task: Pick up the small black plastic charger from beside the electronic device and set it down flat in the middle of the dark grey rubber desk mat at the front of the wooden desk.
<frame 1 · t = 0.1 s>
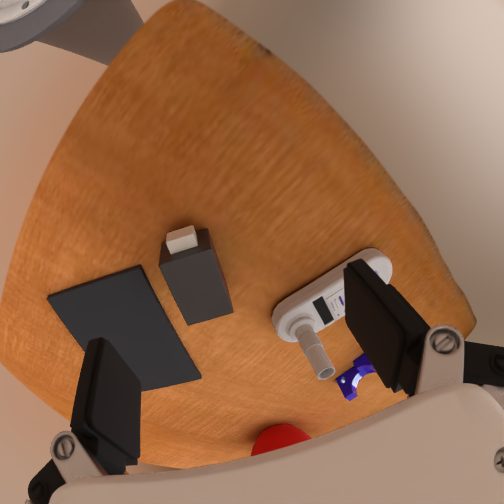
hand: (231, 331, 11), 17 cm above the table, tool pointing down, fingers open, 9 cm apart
cable holder: (356, 364, 43), on the table
electronic device: (328, 287, 34), on the table
charger: (196, 266, 28), on the table
desk mat: (128, 341, 31), on the table
ceramic cup: (285, 430, 50), on the table
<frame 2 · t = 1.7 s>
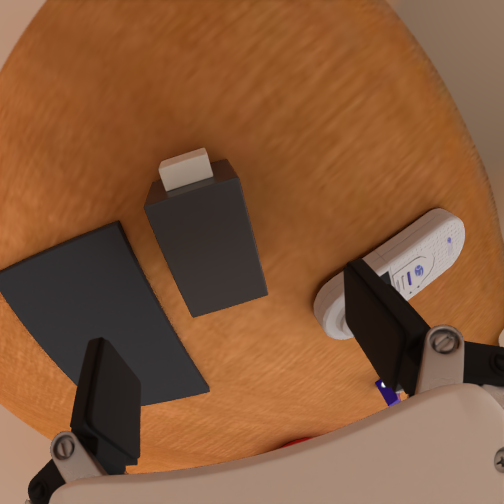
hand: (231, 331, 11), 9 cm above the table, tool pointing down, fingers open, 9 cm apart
cable holder: (399, 364, 33), on the table
electronic device: (386, 262, 23), on the table
charger: (205, 223, 18), on the table
desk mat: (105, 342, 21), on the table
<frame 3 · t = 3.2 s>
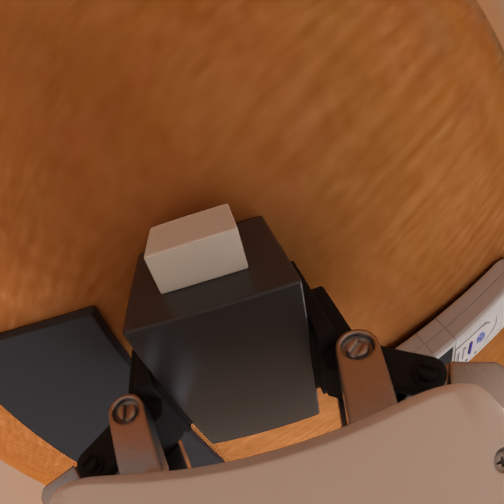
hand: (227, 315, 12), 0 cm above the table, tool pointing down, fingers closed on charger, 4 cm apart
electronic device: (442, 325, 17), on the table
charger: (226, 309, 12), on the table, touching gripper
desk mat: (97, 427, 15), on the table
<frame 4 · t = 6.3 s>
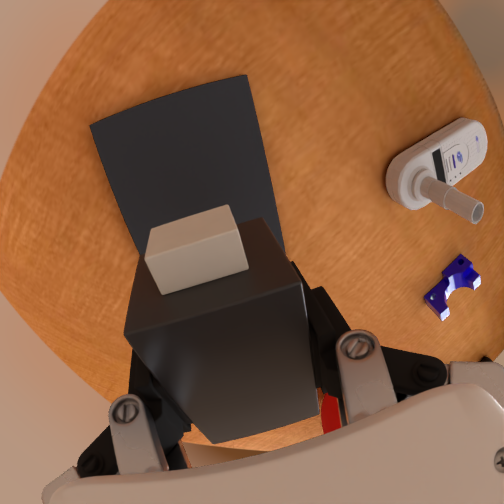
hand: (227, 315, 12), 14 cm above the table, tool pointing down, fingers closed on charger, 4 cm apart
cable holder: (443, 278, 35), on the table
electronic device: (433, 155, 26), on the table
controller: (482, 360, 59), on the table
charger: (226, 309, 12), point 13 cm above the table, touching gripper
desk mat: (198, 204, 23), on the table
ceramic cup: (356, 379, 42), on the table
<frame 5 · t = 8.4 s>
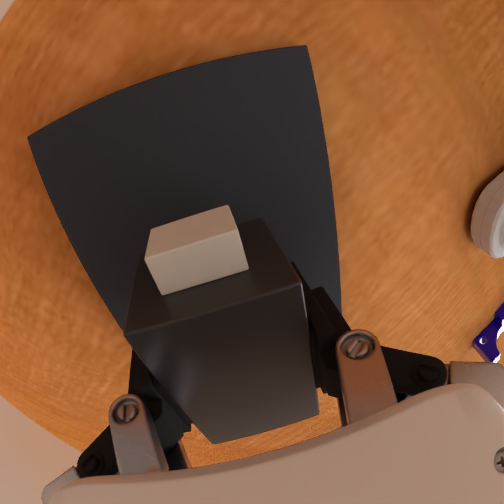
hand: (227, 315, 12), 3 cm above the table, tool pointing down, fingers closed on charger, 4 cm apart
cable holder: (493, 318, 26), on the table
charger: (226, 310, 12), point 3 cm above the table, touching gripper
desk mat: (217, 265, 14), on the table
when the fingers open (1 cm above the table, at t = 9.5 s): charger stays where it is, resting on desk mat.
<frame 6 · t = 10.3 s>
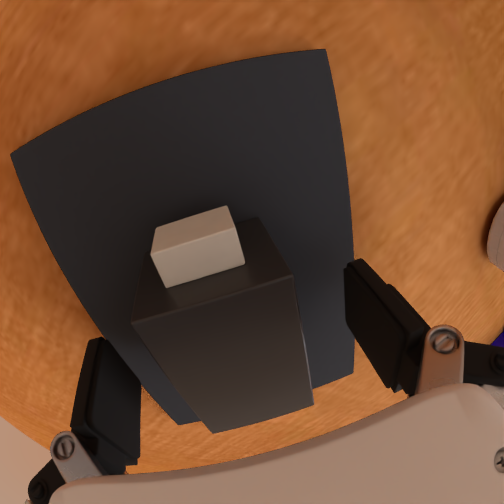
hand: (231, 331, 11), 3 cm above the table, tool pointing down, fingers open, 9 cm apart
cable holder: (502, 331, 25), on the table
charger: (225, 305, 13), point 1 cm above the table, touching desk mat
desk mat: (223, 294, 13), on the table
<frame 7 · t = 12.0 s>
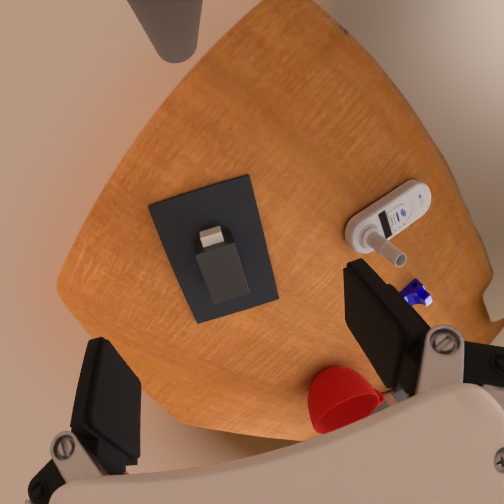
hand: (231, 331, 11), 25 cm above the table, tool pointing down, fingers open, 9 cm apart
cable holder: (401, 297, 49), on the table
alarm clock: (389, 402, 68), on the table
electronic device: (384, 211, 40), on the table
charger: (219, 258, 37), point 1 cm above the table, touching desk mat
desk mat: (219, 255, 37), on the table
ceramic cup: (336, 375, 55), on the table
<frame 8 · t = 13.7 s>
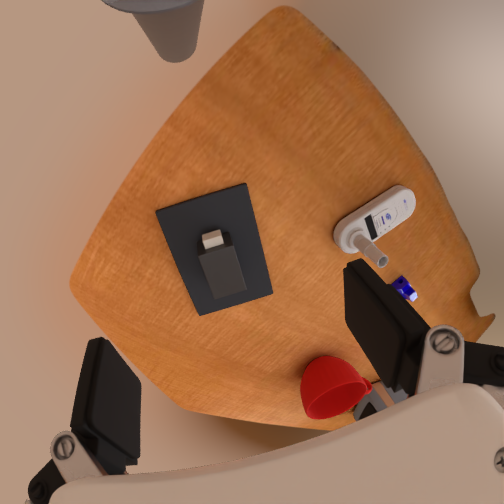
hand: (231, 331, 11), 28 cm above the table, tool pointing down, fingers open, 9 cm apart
cable holder: (388, 292, 53), on the table
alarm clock: (379, 391, 74), on the table
electronic device: (371, 214, 44), on the table
charger: (219, 258, 41), point 1 cm above the table, touching desk mat
desk mat: (219, 255, 42), on the table
ceramic cup: (327, 364, 60), on the table
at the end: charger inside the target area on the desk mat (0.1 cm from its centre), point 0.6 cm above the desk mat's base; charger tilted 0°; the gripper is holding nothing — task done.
